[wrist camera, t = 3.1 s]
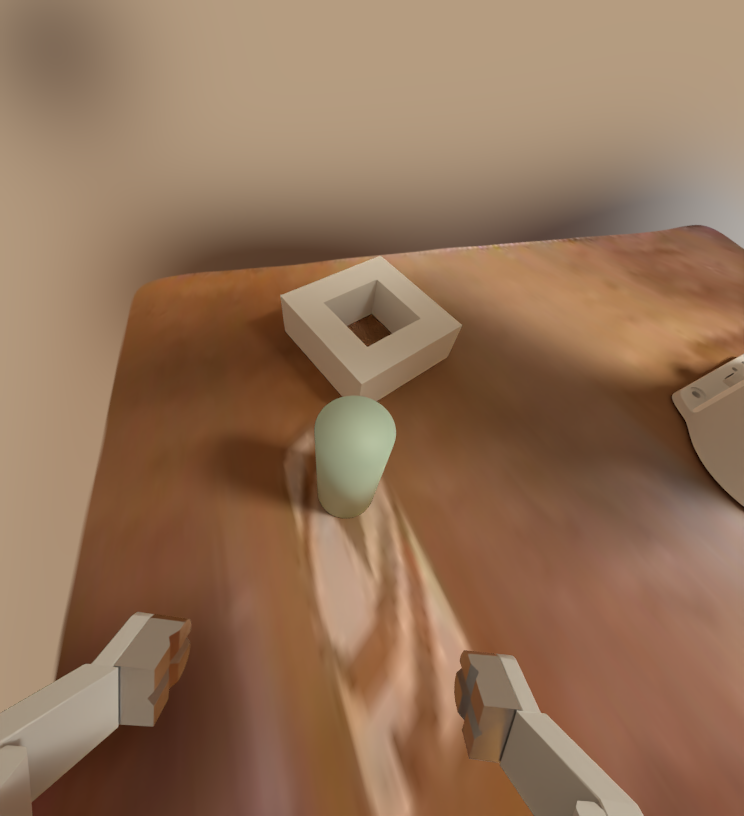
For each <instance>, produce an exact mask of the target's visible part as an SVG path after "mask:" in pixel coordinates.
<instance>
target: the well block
mask: <svg viewBox="0 0 744 816" xmlns="http://www.w3.org/2000/svg"><path fill="white" fill-rule="evenodd" d="M280 297H281V305H282V312H283V320H284V327H285V332H286V333H287V334H288V335H289V336H290V337H291V338H292V340H293V341H294V342H295V343H296V344H297V345H298V346H299V348H300V349H301V350H302V351H303V352H304V353H305V355H306V356H307V357H308V358H309V359H310V360H311V361H312V363H313V364H314V365H315V366H316V367H317V368H318V369H319V371H320V372H321V373H322V374H323V375H324V376H325V377H326V379H327V380H328V381H329V382H330V383H331V384H332V385H333V387H334V388H335V389H336V390H337V391H338V392H339V394H340V395H341V396H342V397H345V396H363V397H367V398H370V399H372V400H375V401H376V402H377V401H378V400H380V399H381V398H383V397H385V396H386V395H388V394H389V393H391V392H392V391H394V390H396V389H397V388H399V387H400V386H402V385H404V384H405V383H407V382H408V381H410V380H412V379H413V378H415V377H416V376H418V375H420V374H421V373H423V372H424V371H426V370H428V369H429V368H431V367H432V366H434V365H436V364H437V363H439V362H440V361H442V360H444V359H445V358H447V357H448V355H449V353H450V351H451V349H452V347H453V345H454V342H455V340H456V338H457V336H458V334H459V332H460V330H461V327H462V324H460V323H459V322H458V321H457V320H456V319H455V318H453V317H452V316H451V315H450V314H449V313H447V312H446V311H445V310H444V309H443V308H442V307H440V306H439V305H438V304H437V303H436V302H435V301H433V300H432V299H431V298H430V297H429V296H427V295H426V294H425V293H424V292H423V291H422V290H420V289H419V288H418V287H417V286H416V285H415V284H413V283H412V282H411V281H410V280H409V279H407V278H406V277H405V276H404V275H403V274H402V273H400V272H399V271H398V270H397V269H396V268H395V267H393V266H392V265H391V264H390V263H389V262H387V261H386V260H385V259H384V258H383V257H382V256H378V257H376V258H373V259H371V260H368V261H366V262H363V263H361V264H358V265H356V266H353V267H351V268H348V269H346V270H343V271H341V272H338V273H336V274H333V275H331V276H328V277H326V278H323V279H321V280H318V281H315V282H313V283H310V284H308V285H305V286H303V287H300V288H298V289H295V290H293V291H290V292H288V293H285V294H283V295H280ZM371 314H372V315H373V316H374V317H376V318H377V319H378V320H379V321H380V322H381V323H382V324H383V325H384V326H385V327H386V328H387V329H388V330H389V331H390V332H391V333H392V334H391V335H389V336H387V337H385V338H383V339H381V340H379V341H377V342H376V343H374V344H372V345H370V346H368V347H367V346H366V345H365V344H364V343H363V342H362V341H361V340H360V339H359V338H358V337H357V336H356V335H355V334H354V333H353V332H352V331H351V330H350V329H349V328H348V327H347V326H348V325H350V324H352V323H354V322H356V321H358V320H360V319H362V318H364V317H366V316H368V315H371Z"/></svg>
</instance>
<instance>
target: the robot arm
mask: <svg viewBox="0 0 744 816" xmlns="http://www.w3.org/2000/svg"><path fill="white" fill-rule="evenodd" d="M672 400H673V402H674V404H675V406H676V407H677V409H678V410H679V412H680V413H681V415H682V416H683V418H684V419H685V421H686V423H687V426H688V430H689V434H690V438H691V441H692V444H693V446H694V448H695V450H696V452H697V454H698V456H699V458H700V460H701V461H702V463H703V464H704V466H705V467H706V469H707V470H708V471H709V473H710V474H711V475H712V476H713V478H714V479H715V480H716V481H717V482H718V483H719V484H720V485H721V486H722V487H723V489H724V490H725V491H727V492H728V493H729V494H730V495H731V496H732V497H733V498H734V499H735V500H736V501H738V502H739V503H740V504H741V505H743V506H744V354H742V355H740V356H738V357H736V358H735V359H733V360H731V361H729V362H727V363H726V364H724V365H722V366H720V367H719V368H717V369H715V370H713V371H712V372H710V373H708V374H706V375H705V376H703V377H701V378H699V379H698V380H696V381H694V382H692V383H691V384H689V385H687V386H685V387H684V388H682V389H680V390H678V391H677V392H675V393H673V395H672ZM190 630H191V620H190V619H186V618H179V617H173V616H166V615H159V614H150V613H143V612H137V613H135V614H134V615H132V616H131V617H130V618H129V619H128V621H127V622H126V623H125V624H124V625H123V627H122V628H121V629H120V630H119V631H118V633H117V634H116V635H115V636H114V637H113V639H112V640H111V641H110V642H109V643H108V645H107V646H106V647H105V648H104V649H103V651H102V652H101V653H100V654H99V655H98V657H97V658H96V659H95V660H94V661H93V663H92V664H84V665H82V666H81V667H79V668H77V669H75V670H74V671H72V672H70V673H68V674H67V675H65V676H63V677H62V678H60V679H58V680H56V681H55V682H53V683H51V684H50V685H48V686H46V687H44V688H43V689H41V690H39V691H37V692H36V693H34V694H32V695H31V696H29V697H27V698H25V699H24V700H22V701H20V702H18V703H17V704H15V705H13V706H12V707H10V708H8V709H6V710H5V711H3V712H1V713H0V816H33V814H32V803H31V802H33V801H34V800H35V799H36V798H37V797H38V796H40V795H41V794H42V793H43V792H44V791H45V790H46V789H48V788H49V787H50V786H51V785H52V784H53V783H54V782H56V781H57V780H58V779H59V778H60V777H61V776H63V775H64V774H65V773H66V772H67V771H68V770H69V769H71V768H72V767H73V766H74V765H75V764H76V763H78V762H79V761H80V760H81V759H82V758H83V757H84V756H86V755H87V754H88V753H89V752H90V751H91V750H92V749H94V748H95V747H96V746H97V745H98V744H99V743H101V742H102V741H103V740H104V739H105V738H106V737H107V736H109V735H110V734H111V733H112V732H113V731H114V730H115V729H117V728H118V726H119V724H121V725H136V726H151V727H153V726H154V725H155V723H156V721H157V719H158V717H159V715H160V714H161V712H162V710H163V708H164V706H165V704H166V703H167V701H168V697H169V688H170V687H172V686H173V685H174V684H176V683H177V682H178V681H179V679H180V677H181V675H182V673H183V671H184V668H185V665H186V663H187V660H188V656H189V652H190V641H189V640H188V638H187V636H188V634H189V632H190ZM460 663H461V667H462V668H461V669H460V670H459V671H458V672H457V673H456V678H455V690H454V694H455V702H456V706H457V711H458V713H459V714H460V716H461V717H462V718H463V719H464V725H463V728H462V732H463V736H464V740H465V744H466V748H467V752H468V756H469V759H475V760H482V761H490V762H497V763H500V766H501V767H502V769H503V770H504V772H505V773H506V775H507V776H508V778H509V779H510V781H511V782H512V784H513V785H514V787H515V788H516V790H517V791H518V793H519V794H520V796H521V797H522V798H523V800H524V801H525V803H526V804H527V806H528V807H529V809H530V810H531V812H532V813H533V815H534V816H644V815H643V814H642V812H641V810H640V808H639V807H638V805H637V804H636V803H635V802H634V801H633V800H632V799H631V798H630V797H629V796H628V795H627V794H626V793H625V792H624V791H623V790H622V789H621V788H620V787H619V786H618V785H617V784H616V783H615V782H614V781H613V780H612V779H611V778H610V777H609V776H608V775H607V774H606V773H605V772H604V771H603V770H602V769H601V768H600V767H599V766H598V765H597V764H596V763H595V762H594V761H593V760H592V759H591V758H590V757H589V756H588V755H587V754H586V753H585V752H584V751H583V750H582V749H581V748H580V747H579V746H578V745H577V744H576V743H575V742H574V741H573V740H572V739H571V738H570V737H569V736H568V735H567V734H566V733H565V732H564V731H563V730H562V729H561V728H560V727H559V726H558V725H557V724H556V723H555V722H554V721H553V720H552V719H551V718H550V717H549V716H548V715H547V714H544V713H541V712H540V710H539V708H538V706H537V704H536V701H535V699H534V697H533V695H532V693H531V691H530V688H529V686H528V684H527V682H526V680H525V678H524V675H523V673H522V671H521V669H520V667H519V665H518V663H517V660H516V659H515V658H514V656H512V655H502V654H494V653H484V652H475V651H465V650H464V651H463V652H462V654H461V658H460Z"/></svg>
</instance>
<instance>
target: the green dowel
mask: <svg viewBox="0 0 744 816" xmlns="http://www.w3.org/2000/svg"><path fill="white" fill-rule="evenodd" d="M314 430H315V452H316V472H317V491H318V498H319V501H320V503H321V505H322V507H323V508H324V509H325V510H326V511H327V512H328V513H330V514H331V515H333V516H335V517H338V518H353V517H356V516H358V515H360V514H362V513H363V512H364V511H365V510H366V509H367V508H368V507H369V505H370V504H371V501H372V499H373V497H374V494H375V491H376V489H377V486H378V484H379V481H380V479H381V476H382V474H383V471H384V468H385V466H386V463H387V461H388V458H389V456H390V453H391V451H392V448H393V445H394V442H395V438H396V428H395V423H394V421H393V418H392V416H391V415H390V413H389V412H388V411H387V410H386V409H385V408H384V407H383V406H382V405H381V404H380V403H378V402H376V401H375V400H372V399H370V398H367V397H363V396H345V397H341V398H338V399H335V400H333V401H332V402H330V403H329V404H327V405H326V406H325V407H324V408H323V409H322V410H321V412H320V413H319V415H318V417H317V419H316V422H315V428H314Z"/></svg>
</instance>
